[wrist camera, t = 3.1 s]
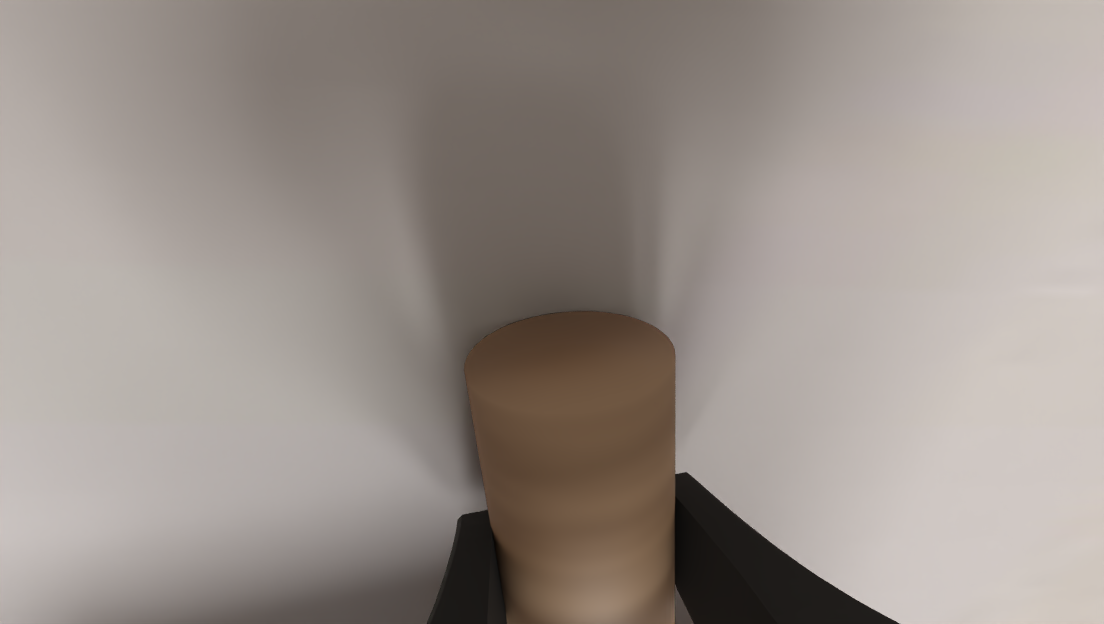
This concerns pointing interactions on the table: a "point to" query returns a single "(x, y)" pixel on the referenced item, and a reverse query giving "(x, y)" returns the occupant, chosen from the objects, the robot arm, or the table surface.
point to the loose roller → (579, 466)
